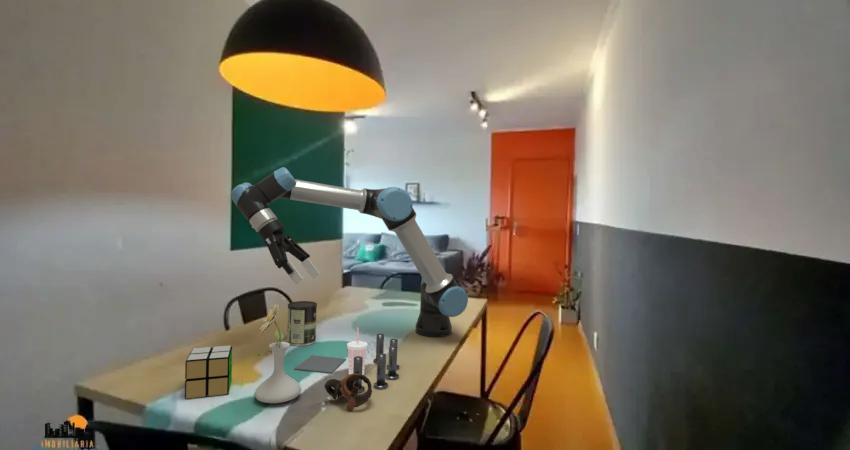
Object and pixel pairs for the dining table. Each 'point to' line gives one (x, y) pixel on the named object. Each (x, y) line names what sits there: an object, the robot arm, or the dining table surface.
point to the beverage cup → (356, 352)
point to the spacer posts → (379, 364)
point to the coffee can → (301, 323)
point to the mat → (320, 364)
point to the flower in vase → (277, 369)
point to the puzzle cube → (208, 372)
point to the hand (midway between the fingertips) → (308, 278)
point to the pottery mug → (349, 390)
